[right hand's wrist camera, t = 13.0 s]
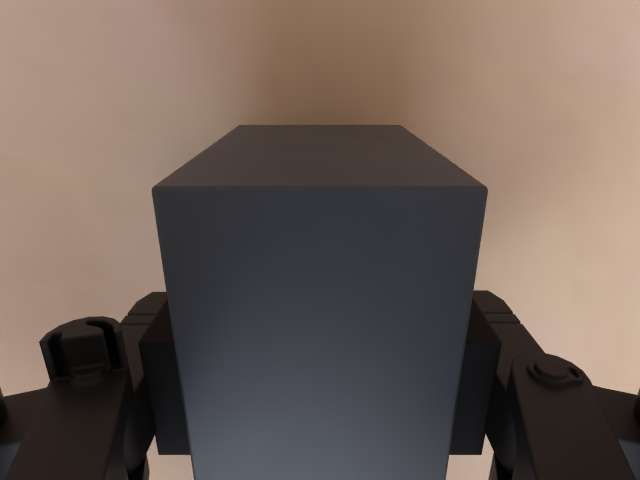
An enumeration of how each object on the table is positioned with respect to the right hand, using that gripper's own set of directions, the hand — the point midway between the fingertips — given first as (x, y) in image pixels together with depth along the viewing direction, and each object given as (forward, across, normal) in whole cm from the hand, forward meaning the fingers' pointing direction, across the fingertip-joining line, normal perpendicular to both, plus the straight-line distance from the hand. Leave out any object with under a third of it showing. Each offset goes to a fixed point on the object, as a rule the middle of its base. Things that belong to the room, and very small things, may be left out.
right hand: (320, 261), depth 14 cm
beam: (+1, 0, -34) cm, 34 cm away
